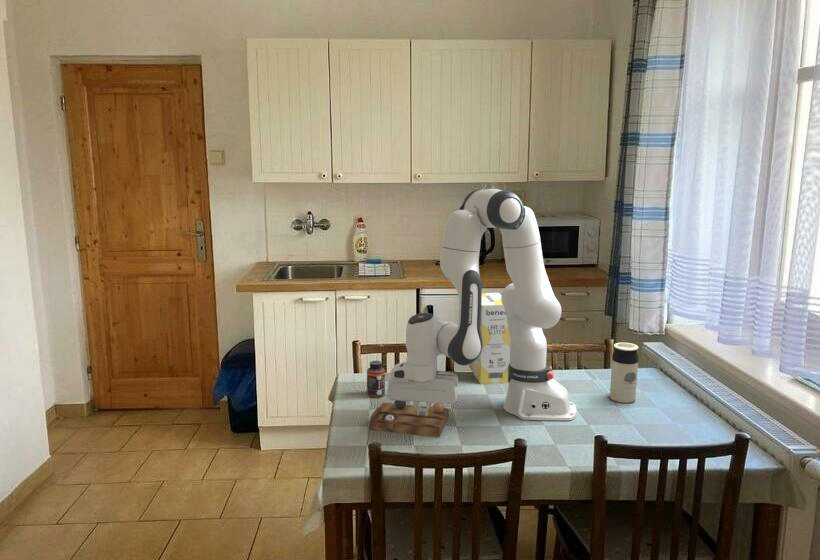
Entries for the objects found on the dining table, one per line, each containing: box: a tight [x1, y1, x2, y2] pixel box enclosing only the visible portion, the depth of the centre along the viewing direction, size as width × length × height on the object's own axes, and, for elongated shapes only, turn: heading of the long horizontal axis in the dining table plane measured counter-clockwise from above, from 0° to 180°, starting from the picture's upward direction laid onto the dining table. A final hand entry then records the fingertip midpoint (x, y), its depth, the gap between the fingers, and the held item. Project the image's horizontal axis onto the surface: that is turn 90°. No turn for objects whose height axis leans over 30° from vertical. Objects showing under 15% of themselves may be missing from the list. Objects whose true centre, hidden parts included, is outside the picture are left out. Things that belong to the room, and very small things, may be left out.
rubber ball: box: [394, 400, 407, 408], centre depth 199 cm, size 4×4×4 cm
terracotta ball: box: [432, 403, 446, 413], centre depth 196 cm, size 4×4×4 cm
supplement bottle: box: [366, 360, 386, 398], centre depth 215 cm, size 6×6×11 cm
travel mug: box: [609, 342, 640, 404], centre depth 211 cm, size 8×8×18 cm
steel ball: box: [384, 414, 395, 421], centre depth 192 cm, size 4×4×4 cm
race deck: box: [368, 402, 450, 438], centre depth 194 cm, size 21×15×4 cm
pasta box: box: [468, 292, 510, 385], centre depth 232 cm, size 18×10×28 cm, turn 8°
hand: (422, 415), depth 189 cm, fingers closed
